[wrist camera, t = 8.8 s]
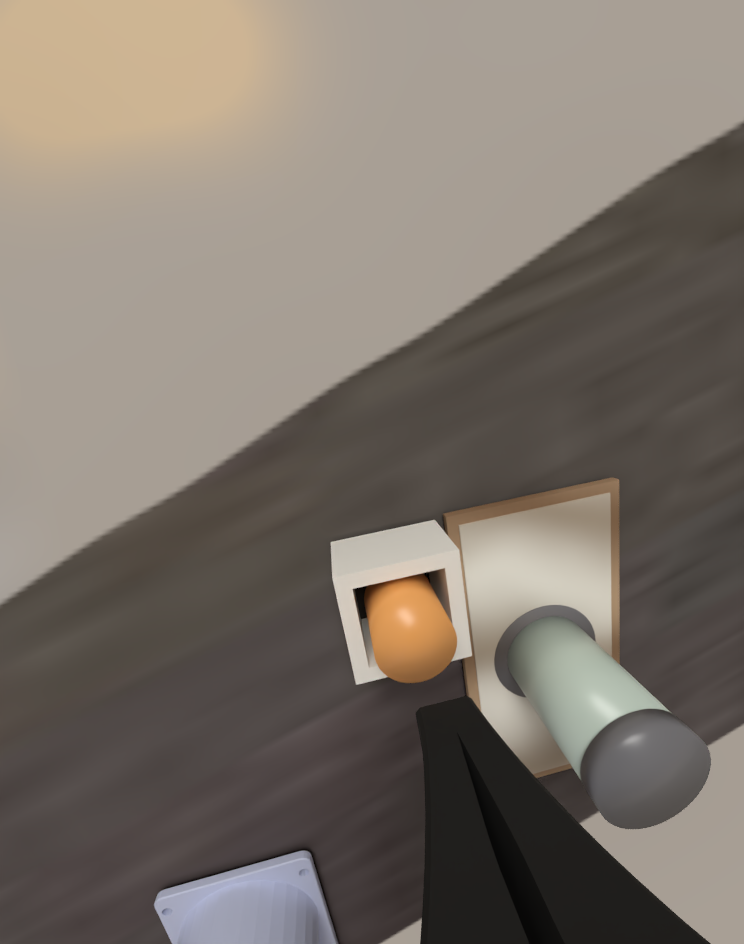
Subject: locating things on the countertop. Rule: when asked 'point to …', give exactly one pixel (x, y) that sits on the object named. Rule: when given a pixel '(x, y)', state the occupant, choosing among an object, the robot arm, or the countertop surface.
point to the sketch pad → (535, 595)
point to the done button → (409, 629)
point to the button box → (389, 561)
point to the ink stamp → (608, 725)
